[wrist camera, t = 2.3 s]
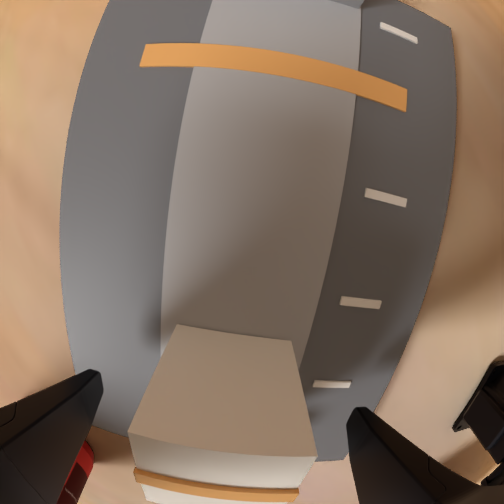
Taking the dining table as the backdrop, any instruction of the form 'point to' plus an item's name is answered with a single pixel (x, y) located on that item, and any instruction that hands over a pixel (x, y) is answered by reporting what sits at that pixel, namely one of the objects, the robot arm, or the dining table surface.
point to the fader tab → (222, 422)
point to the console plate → (257, 190)
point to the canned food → (77, 476)
